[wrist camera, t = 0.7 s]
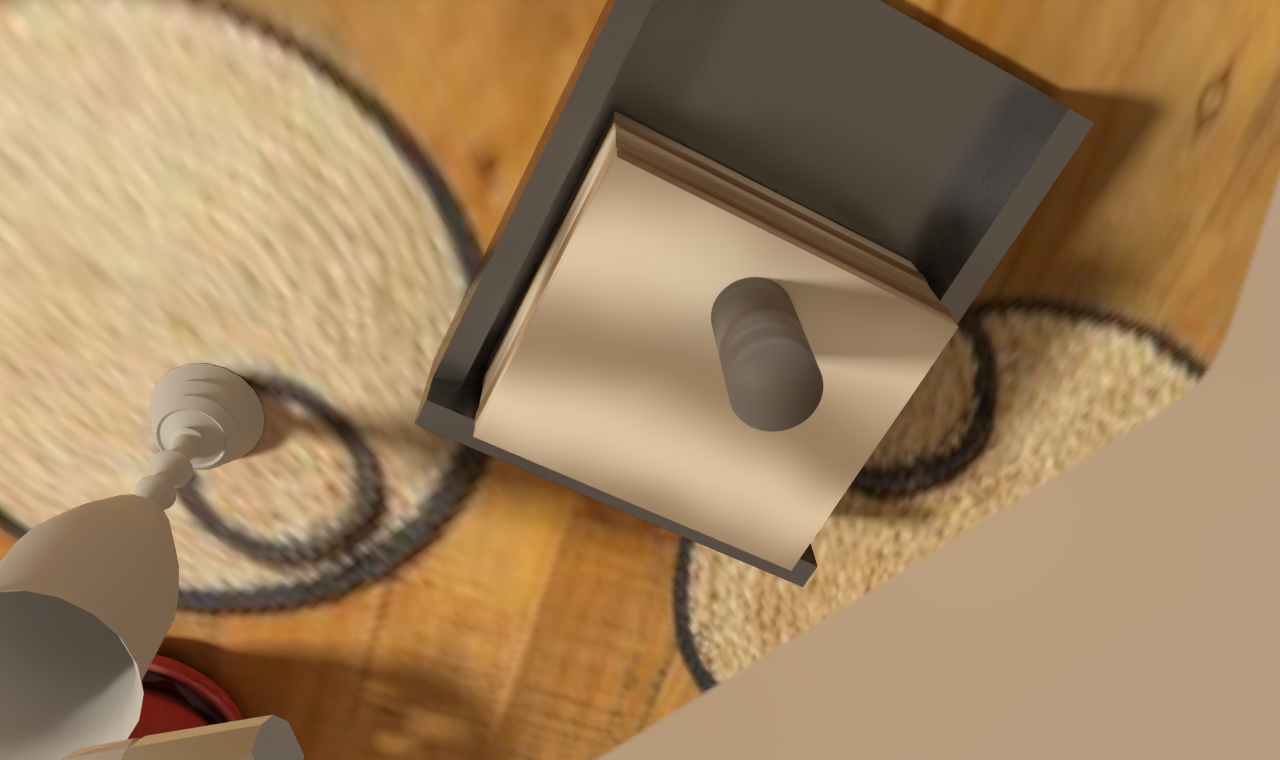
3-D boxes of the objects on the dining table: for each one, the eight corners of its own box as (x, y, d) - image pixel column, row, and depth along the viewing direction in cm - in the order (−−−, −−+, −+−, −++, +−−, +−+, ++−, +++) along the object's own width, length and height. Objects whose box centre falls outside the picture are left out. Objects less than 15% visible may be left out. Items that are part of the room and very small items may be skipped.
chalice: (255, 504, 54) (108, 799, 37) (110, 451, 52) (-108, 734, 36) (306, 376, 51) (172, 635, 35) (155, 316, 49) (-61, 557, 33)
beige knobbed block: (613, 108, 45) (620, 208, 33) (912, 260, 48) (1014, 401, 36) (487, 359, 49) (453, 524, 38) (768, 482, 53) (817, 670, 41)
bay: (666, -122, 42) (677, -114, 37) (1056, 100, 46) (1116, 136, 41) (433, 360, 51) (414, 423, 45) (782, 511, 55) (803, 586, 49)
